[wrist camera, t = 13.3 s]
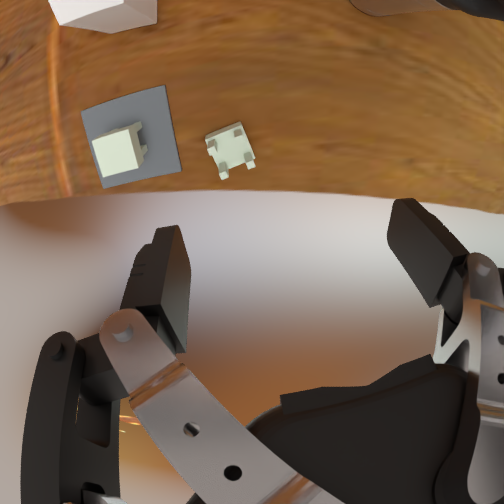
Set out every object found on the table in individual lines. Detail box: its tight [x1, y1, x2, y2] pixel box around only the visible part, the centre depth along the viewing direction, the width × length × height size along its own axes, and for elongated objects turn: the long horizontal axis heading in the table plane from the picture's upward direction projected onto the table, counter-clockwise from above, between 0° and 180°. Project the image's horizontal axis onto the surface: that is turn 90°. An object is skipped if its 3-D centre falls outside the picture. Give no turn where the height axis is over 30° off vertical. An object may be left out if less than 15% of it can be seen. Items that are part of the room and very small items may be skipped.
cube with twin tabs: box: [92, 121, 148, 177], centre depth 33 cm, size 6×6×7 cm
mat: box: [81, 85, 182, 189], centre depth 36 cm, size 14×14×1 cm
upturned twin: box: [205, 122, 255, 180], centre depth 37 cm, size 6×6×7 cm
